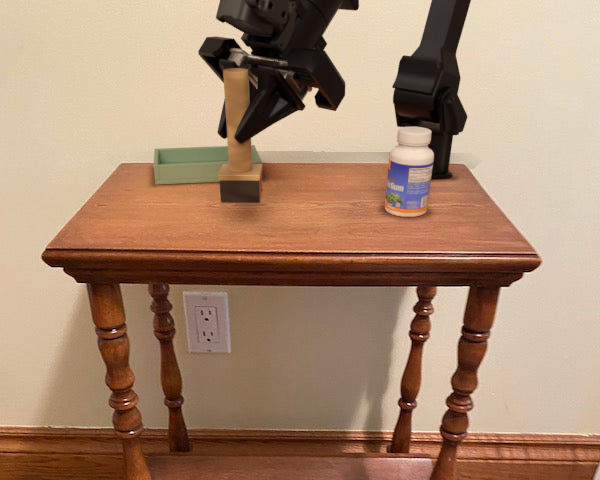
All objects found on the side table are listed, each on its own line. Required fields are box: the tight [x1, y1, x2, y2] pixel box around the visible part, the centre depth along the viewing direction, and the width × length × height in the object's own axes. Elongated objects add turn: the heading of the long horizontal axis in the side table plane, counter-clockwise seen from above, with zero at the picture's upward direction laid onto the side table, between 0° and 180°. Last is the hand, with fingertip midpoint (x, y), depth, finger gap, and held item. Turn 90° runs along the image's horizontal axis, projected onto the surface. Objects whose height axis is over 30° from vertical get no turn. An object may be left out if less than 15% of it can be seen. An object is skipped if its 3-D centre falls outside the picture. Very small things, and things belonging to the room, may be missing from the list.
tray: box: [153, 144, 263, 186], centre depth 93 cm, size 15×10×3 cm, turn 100°
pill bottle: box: [384, 127, 434, 218], centre depth 77 cm, size 5×5×10 cm
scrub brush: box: [218, 68, 264, 204], centre depth 68 cm, size 5×5×13 cm
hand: (229, 138), depth 68 cm, fingers closed on scrub brush, 2 cm apart
